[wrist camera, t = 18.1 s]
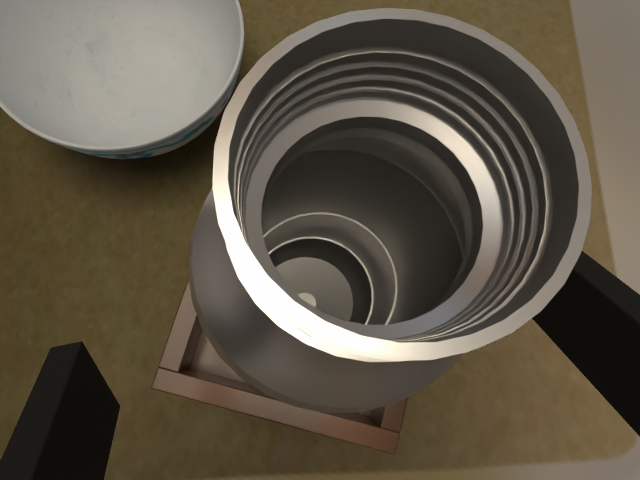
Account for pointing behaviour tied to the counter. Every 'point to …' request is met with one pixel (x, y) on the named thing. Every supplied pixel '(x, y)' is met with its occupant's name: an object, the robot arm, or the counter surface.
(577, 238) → the metal bottle
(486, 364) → the counter surface
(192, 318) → the walnut box
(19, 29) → the chinaware
